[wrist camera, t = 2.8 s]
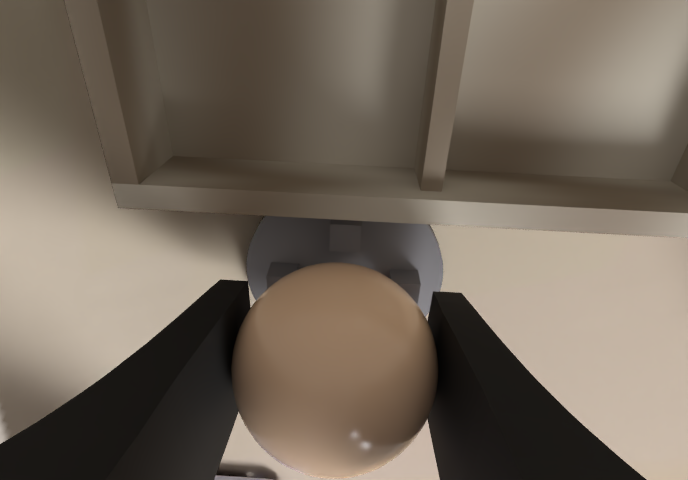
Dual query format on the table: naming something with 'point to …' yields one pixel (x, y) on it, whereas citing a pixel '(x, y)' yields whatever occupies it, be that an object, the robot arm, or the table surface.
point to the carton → (396, 109)
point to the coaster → (347, 252)
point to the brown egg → (334, 370)
